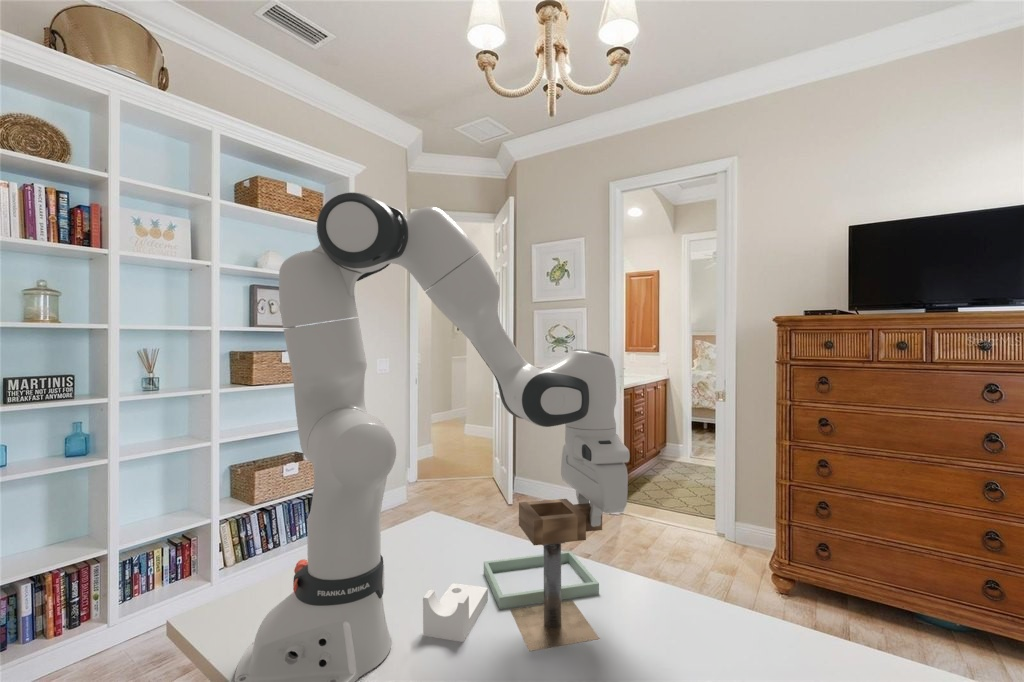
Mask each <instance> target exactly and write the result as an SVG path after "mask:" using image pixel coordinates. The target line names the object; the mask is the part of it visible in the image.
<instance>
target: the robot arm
mask: <svg viewBox="0 0 1024 682" xmlns="http://www.w3.org/2000/svg"><path fill="white" fill-rule="evenodd" d="M316 234H317V239H318V242H319V245H318V246H317V247H316V248H314V249H311V250H305V251H299V252H298V253H294V254H292V255H290V256H289V257H287V258H286V259H285V260H284V261H283V262H282V264H281V265H280V268H279V270H278V271H279V274H278V298H279V310H280V318H281V324H282V328H283V329H282V331H283V334H284V339H285V345H286V350H287V354H288V359H289V364H290V370H291V375H292V380H293V381H292V383H293V393H294V405H295V414H296V422H297V423H296V425H297V431H298V437H299V444H300V449H301V452H302V453H303V455H304V457H305V458H306V459H307V460H308V461H309V462H310V463H311V464H312V467H313V468H312V469H313V474H314V481H313V490H312V491H313V492H312V499H311V505H310V511H309V514H308V515H307V520H306V521H307V524H306V525H307V526H306V527H307V528H306V529H307V536H306V537H307V538H306V539H307V559H306V558H304V559H300V560H298V561H297V562H296V565H295V567H294V569H293V572H294V575H293V586H292V587H293V589H292V590H293V592H291V593H290V594H289V595H288V596H286V597H285V598H284V599H283V600H282V601H280V602H279V603H278V604H277V605H275V606H274V607H273V608H271V609H270V611H268V613H267V614H266V615H265V616H264V617H263V620H262V621H261V624H260V625H259V628H258V630H257V632H256V635H255V638H254V641H253V642H252V643H250V645H249V646H248V647H247V648H246V650H244V652H243V654H242V656H241V658H240V660H239V661H238V663H237V666H236V671H235V674H234V681H233V682H356V681H357V680H358V679H359V678H360V677H362V676H363V675H365V674H366V673H368V672H370V671H372V670H373V669H375V668H376V667H377V666H378V665H380V664H381V663H382V662H383V661H384V660H385V659H386V658H387V656H389V655H388V654H389V653H390V651H391V649H392V648H391V647H392V637H391V634H390V632H389V629H388V623H387V620H386V614H385V608H384V607H385V606H384V597H383V595H384V590H385V564H384V557H383V556H382V553H381V548H382V547H381V539H382V537H381V536H382V535H381V534H382V533H381V528H382V527H381V522H382V521H381V519H382V518H381V517H382V516H381V515H382V505H383V500H384V499H383V498H384V495H385V489H386V484H387V480H388V475H389V474H390V473H391V471H392V469H393V467H394V465H395V462H396V458H397V457H396V456H397V446H396V442H395V439H394V437H393V436H392V434H391V432H390V431H389V428H387V427H386V425H385V423H383V421H381V420H380V419H378V418H377V417H376V416H373V415H371V414H369V413H368V411H367V409H366V403H365V380H366V379H365V377H366V371H367V366H368V365H367V359H366V353H365V349H364V347H365V346H364V342H363V336H362V332H361V331H362V330H361V325H360V321H359V320H360V319H359V314H358V310H357V304H356V297H355V287H356V284H357V282H360V281H362V280H364V279H365V278H368V277H370V276H372V275H374V274H377V273H379V272H382V271H383V270H385V269H386V268H387V267H389V266H390V265H391V264H393V265H394V264H395V265H399V266H401V267H403V268H404V269H405V270H407V272H409V273H410V274H411V276H412V277H413V278H414V279H415V280H416V282H417V283H418V284H419V286H420V287H421V289H422V290H423V291H424V292H425V294H426V296H427V297H428V298H429V300H430V301H431V302H432V303H433V304H434V306H436V308H437V309H438V310H439V311H440V312H441V313H442V315H444V316H445V317H446V318H447V319H448V320H449V321H450V322H451V323H452V324H453V325H454V326H455V327H456V328H457V329H458V330H459V331H460V332H461V333H462V334H463V335H464V336H465V337H466V338H467V339H468V340H469V341H470V343H471V345H473V348H475V350H476V352H477V353H478V354H479V356H480V357H481V359H482V360H483V361H484V362H485V364H486V366H487V367H488V368H489V370H490V371H491V372H492V374H493V377H494V378H495V380H496V382H497V388H498V391H499V395H500V397H499V398H500V400H501V403H502V404H503V406H504V408H505V410H507V412H508V413H509V414H511V415H512V416H514V417H516V418H518V419H522V420H525V421H527V422H528V423H531V424H534V425H535V426H539V427H543V428H551V427H556V426H562V425H564V427H565V431H564V433H565V435H564V436H565V437H564V442H565V444H564V445H563V446H562V451H561V465H560V466H561V467H560V475H561V478H562V481H564V482H565V483H566V484H567V485H568V486H569V487H571V488H572V489H574V490H575V496H576V499H577V504H586V503H590V506H591V511H590V514H588V523H589V524H590V525H591V526H593V527H595V526H600V524H601V515H602V516H603V513H605V514H612V513H613V514H615V513H621V512H624V511H625V509H626V507H627V504H628V494H629V493H628V491H629V490H628V489H629V488H628V485H629V483H628V482H629V476H628V467H627V465H626V464H625V463H629V462H630V457H631V455H630V454H631V453H630V450H629V448H628V447H627V446H626V445H625V444H624V443H623V442H622V440H621V439H620V436H619V435H618V434H617V422H616V419H615V407H616V404H617V377H616V375H617V374H616V369H615V365H614V361H613V359H612V358H611V357H610V356H609V355H608V354H606V353H603V352H600V351H599V352H598V351H595V350H588V349H587V350H586V349H582V348H581V349H580V348H579V349H578V348H577V349H572V350H570V351H569V352H568V354H567V355H565V356H563V357H562V358H561V359H559V360H557V361H555V362H553V363H551V364H549V365H546V366H544V367H543V366H542V368H540V367H539V368H538V367H537V366H535V365H533V364H531V363H529V362H528V361H527V360H526V359H525V358H524V357H523V356H522V354H521V353H520V352H519V349H518V348H517V347H516V346H515V344H514V342H513V341H512V340H511V338H510V335H508V333H507V332H506V330H505V329H504V327H503V325H502V323H501V320H500V318H499V317H500V316H499V302H500V296H501V295H500V292H501V290H500V289H501V288H500V284H499V282H498V280H497V278H496V276H495V274H494V272H493V270H492V268H491V266H490V264H489V262H487V260H486V259H485V257H484V256H483V254H482V253H481V252H480V250H479V248H478V247H477V246H476V244H475V243H474V242H473V241H472V240H471V238H470V237H469V236H468V235H467V233H466V232H465V231H464V230H463V229H462V228H461V226H459V225H458V223H456V221H454V219H453V218H451V216H449V215H448V214H447V213H446V212H445V211H444V210H443V209H441V208H439V207H435V206H425V207H420V208H417V209H415V210H413V211H412V212H410V213H409V214H407V215H404V213H403V212H402V211H401V210H400V209H398V208H395V207H393V206H391V205H389V204H387V203H385V202H383V201H381V200H379V199H377V198H376V197H373V196H370V195H368V194H365V193H359V192H353V191H352V192H344V193H340V194H338V195H335V196H334V197H332V198H331V199H329V200H328V201H327V202H326V203H324V205H323V206H322V208H321V209H320V212H319V213H318V217H317V221H316Z"/></svg>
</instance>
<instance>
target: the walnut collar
mask: <svg viewBox="0 0 1024 682" xmlns="http://www.w3.org/2000/svg"><path fill="white" fill-rule="evenodd" d="M590 511H591V506H590V502H589V503H586V504H578V503H576V504H575V503H574V504H573V503H572V502H571V501H569V500H568V499H567V498H558V499H547V500H546V499H545V500H534V501H533V500H532V501H531V500H530V501H523V502H522V501H521V502H518V526H519V528H521V530H522V532H523V533H524V534H525V536H526V537H527V538H528V540H529V541H530V542H531V543H532V546H541V545H542V546H543V545H544V544H553V543H562V544H564V543H563V542H565V543H571V542H581V541H586V540H587V533H588V532H596V531H603V514H602V515H601V524H600V526H595V527H593V526H591V525H590V524H589V523H588V514H590Z"/></svg>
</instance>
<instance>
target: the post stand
mask: <svg viewBox="0 0 1024 682" xmlns="http://www.w3.org/2000/svg"><path fill="white" fill-rule="evenodd" d="M562 544H566V542H563V543H553V544H544V545H542V547H543V554H544V567H543V589H544V602H543V604H538V605H537V604H535V605H529V606H525V607H519V608H516V607H515V608H511V609H510V608H509V610H510V613H511V614H512V617H513V619H514V621H515V623H516V626H517V628H518V630H519V632H520V634H521V636H522V639H523V641H524V643H525V646H526V647H527V649H528V651H529V652H533V651H538V650H545V649H551V648H555V647H561V646H567V645H572V644H577V643H578V644H579V643H583V642H588V641H589V642H590V641H595V640H600V637H599V635H598V634H597V632H596V631H595V630H594V629H593V627H592V626H591V624H590V623H589V621H588V620H587V619H586V617H585V616H584V614H583V613H582V612H581V610H580V609H579V608H578V606H577V605H576V604H575V602H574V600H573V599H570V600H569V599H568V600H561V586H562V564H561V552H562Z"/></svg>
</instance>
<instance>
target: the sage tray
mask: <svg viewBox="0 0 1024 682" xmlns="http://www.w3.org/2000/svg"><path fill="white" fill-rule="evenodd" d="M566 564H570V566H571V567H572V568H573V570H574V571H575V572H576V573H577V574H578V576H579V577H580V578H581V579H582V581H584V582H583V583H576V584H569V585H563V586H562V585H561V601H564V600H569V599H575V598H581V597H588V596H594V595H595V596H596V595H600V582H598V580H597V579H596V578H595V577H594V576H593V574H592V573H591V572H590V571H589V570H588V569H587V567H586V566H585V565H584V564H583V563H582V562H581V561H580V560H579V559H578V558H577V556H576V555H575V554H574V553H573V552H572V551H571V550H567V551H566V550H565V551H561V565H566ZM536 568H544V553H542V554H535V555H527V556H526V555H525V556H519V557H512V558H511V557H509V558H504V559H496V560H488V561H483V575H484V576H485V577H486V580H487V582H488V584H489V587H490V589H491V592H492V594H493V596H494V599H495V602H496V603H497V606H498V608H499V610H503V609H508V608H509V609H510V608H514V607H515V608H516V607H522V606H528V605H529V606H531V605H534V604H535V605H537V604H541V603H543V604H544V588H542V589H534V590H528V591H527V590H526V591H520V592H513V593H508V594H503V593H502V590H501V588H500V586H499V583H498V582H497V579H496V577H495V575H494V574H496V573H497V574H498V573H507V572H514V571H521V570H526V569H527V570H529V569H536Z"/></svg>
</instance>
